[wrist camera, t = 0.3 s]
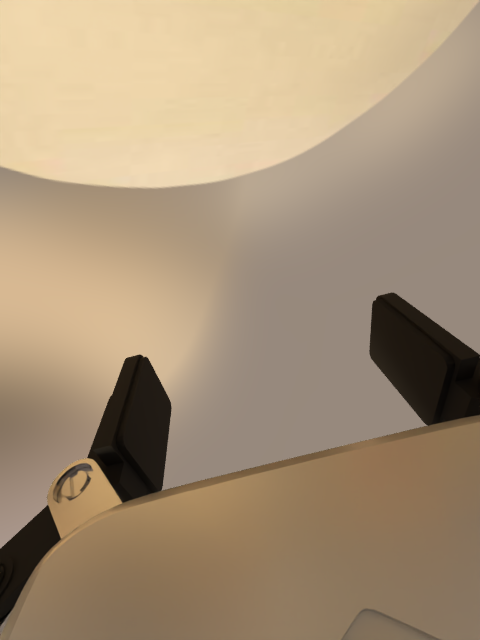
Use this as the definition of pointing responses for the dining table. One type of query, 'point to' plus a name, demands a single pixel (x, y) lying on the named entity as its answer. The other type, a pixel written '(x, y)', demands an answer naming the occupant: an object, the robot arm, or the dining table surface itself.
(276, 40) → the dining table surface
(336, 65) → the dining table surface
